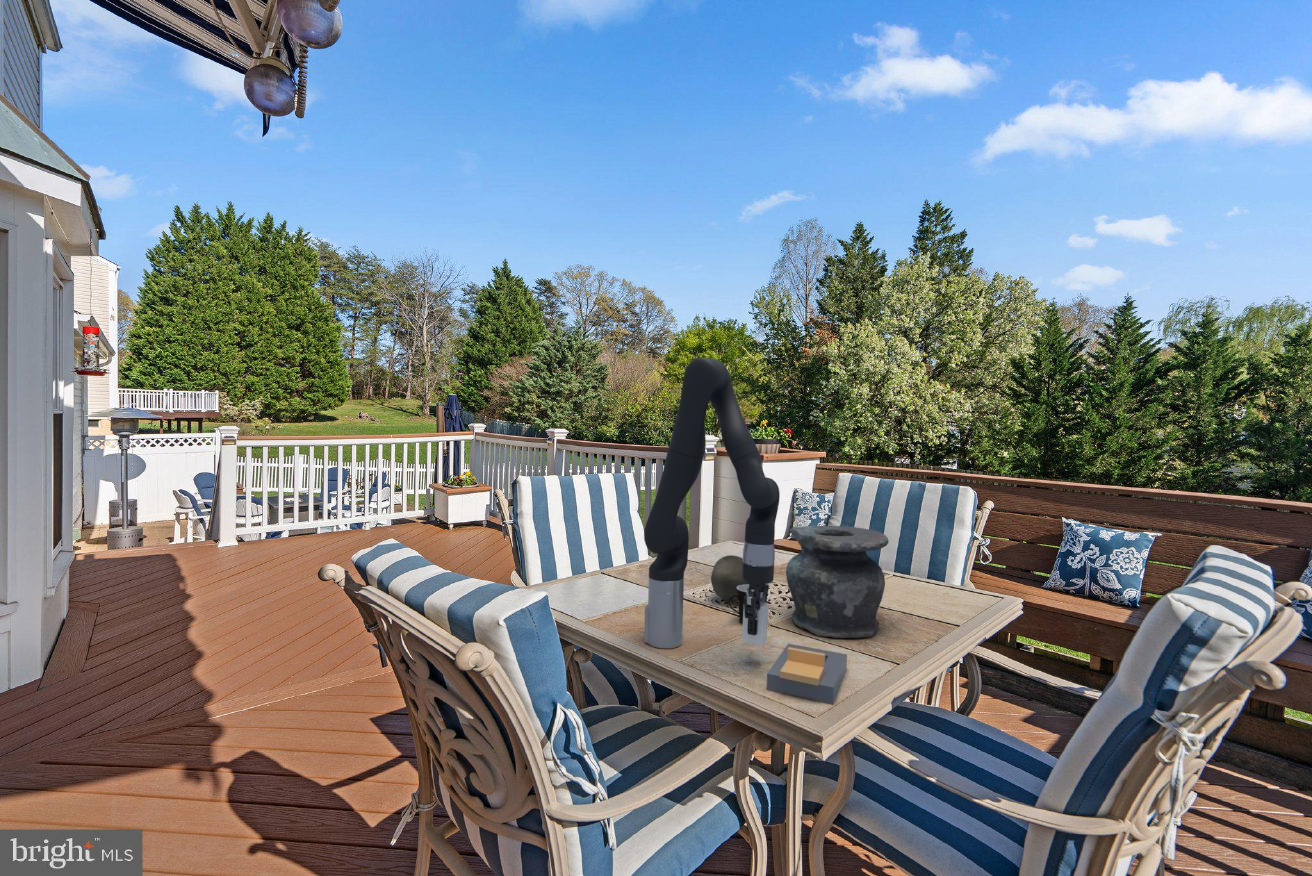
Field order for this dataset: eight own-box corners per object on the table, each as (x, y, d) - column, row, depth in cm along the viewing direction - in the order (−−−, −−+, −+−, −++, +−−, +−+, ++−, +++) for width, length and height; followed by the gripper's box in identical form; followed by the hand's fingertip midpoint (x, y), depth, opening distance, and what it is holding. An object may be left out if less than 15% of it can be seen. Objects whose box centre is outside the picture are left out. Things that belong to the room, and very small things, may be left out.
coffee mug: (762, 617, 174) (763, 584, 174) (768, 627, 165) (769, 593, 165) (723, 617, 174) (724, 584, 173) (728, 627, 165) (729, 592, 165)
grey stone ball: (701, 598, 192) (702, 553, 192) (737, 594, 198) (738, 550, 198) (724, 610, 180) (725, 562, 179) (762, 606, 186) (763, 559, 185)
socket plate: (766, 689, 126) (767, 673, 126) (787, 657, 144) (788, 643, 144) (833, 704, 120) (833, 687, 120) (846, 668, 138) (847, 654, 138)
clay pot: (899, 613, 176) (898, 518, 172) (875, 660, 151) (874, 550, 147) (805, 597, 192) (802, 509, 188) (770, 636, 167) (766, 537, 163)
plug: (741, 641, 139) (743, 604, 139) (746, 635, 143) (748, 599, 142) (762, 645, 137) (764, 607, 137) (766, 639, 141) (768, 603, 140)
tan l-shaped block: (779, 677, 124) (780, 659, 124) (788, 664, 131) (788, 647, 131) (818, 685, 120) (818, 667, 120) (824, 671, 128) (825, 653, 127)
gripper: (751, 553, 147) (748, 619, 148) (734, 564, 134) (730, 637, 135) (780, 557, 144) (777, 625, 145) (766, 569, 131) (762, 644, 132)
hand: (754, 631), depth 140 cm, fingers closed on plug, 4 cm apart
